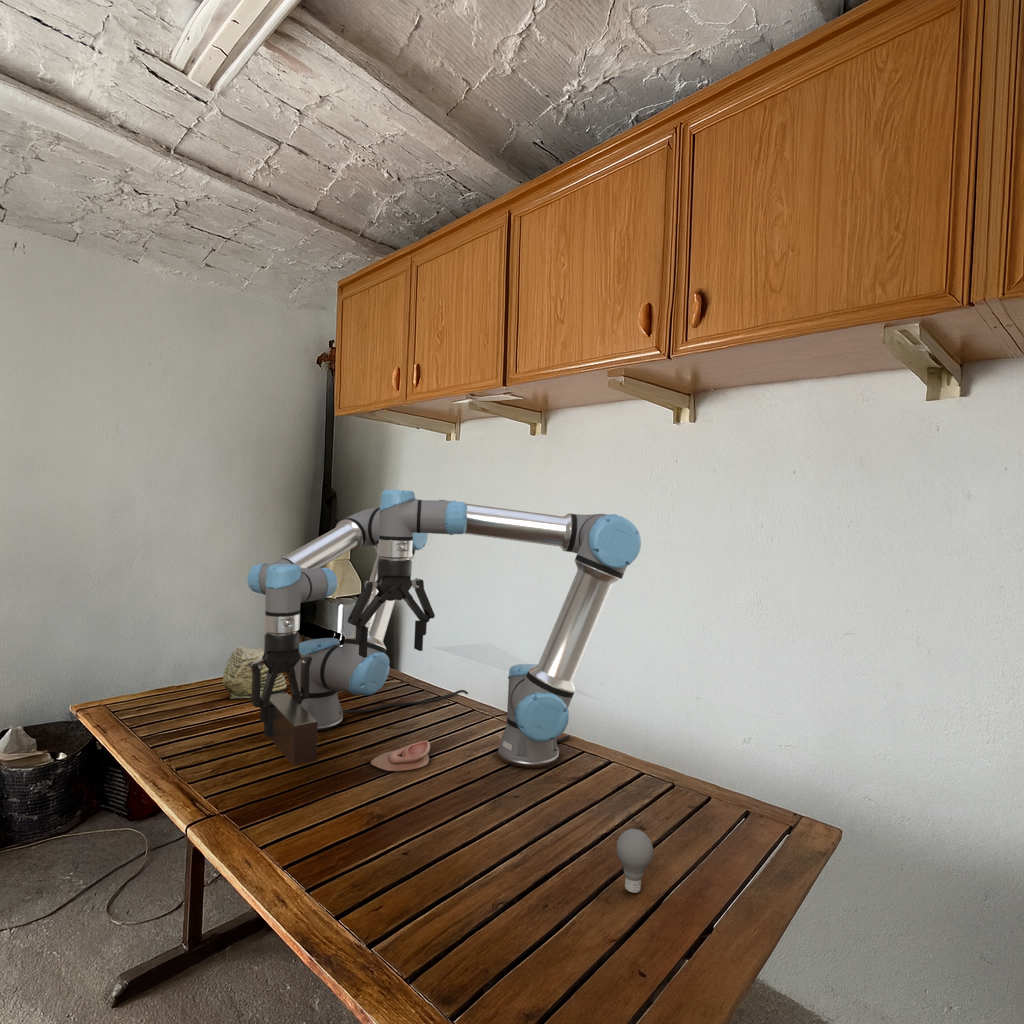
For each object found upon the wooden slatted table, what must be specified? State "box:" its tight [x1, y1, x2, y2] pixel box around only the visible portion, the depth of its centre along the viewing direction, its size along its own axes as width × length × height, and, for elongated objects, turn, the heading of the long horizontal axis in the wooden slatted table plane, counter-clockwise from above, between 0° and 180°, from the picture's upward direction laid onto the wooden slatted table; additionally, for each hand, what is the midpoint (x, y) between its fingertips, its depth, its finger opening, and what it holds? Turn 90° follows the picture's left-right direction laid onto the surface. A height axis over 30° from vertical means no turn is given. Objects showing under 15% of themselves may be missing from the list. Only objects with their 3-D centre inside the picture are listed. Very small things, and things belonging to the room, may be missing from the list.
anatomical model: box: [370, 740, 431, 772], centre depth 153 cm, size 13×4×12 cm
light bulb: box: [615, 828, 654, 894], centre depth 106 cm, size 6×6×10 cm
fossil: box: [222, 646, 288, 699], centre depth 198 cm, size 9×18×15 cm, turn 132°
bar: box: [268, 692, 318, 767], centre depth 140 cm, size 21×5×8 cm, turn 36°
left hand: (279, 732), depth 146 cm, fingers closed on bar, 5 cm apart
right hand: (391, 652), depth 142 cm, fingers open, 13 cm apart
